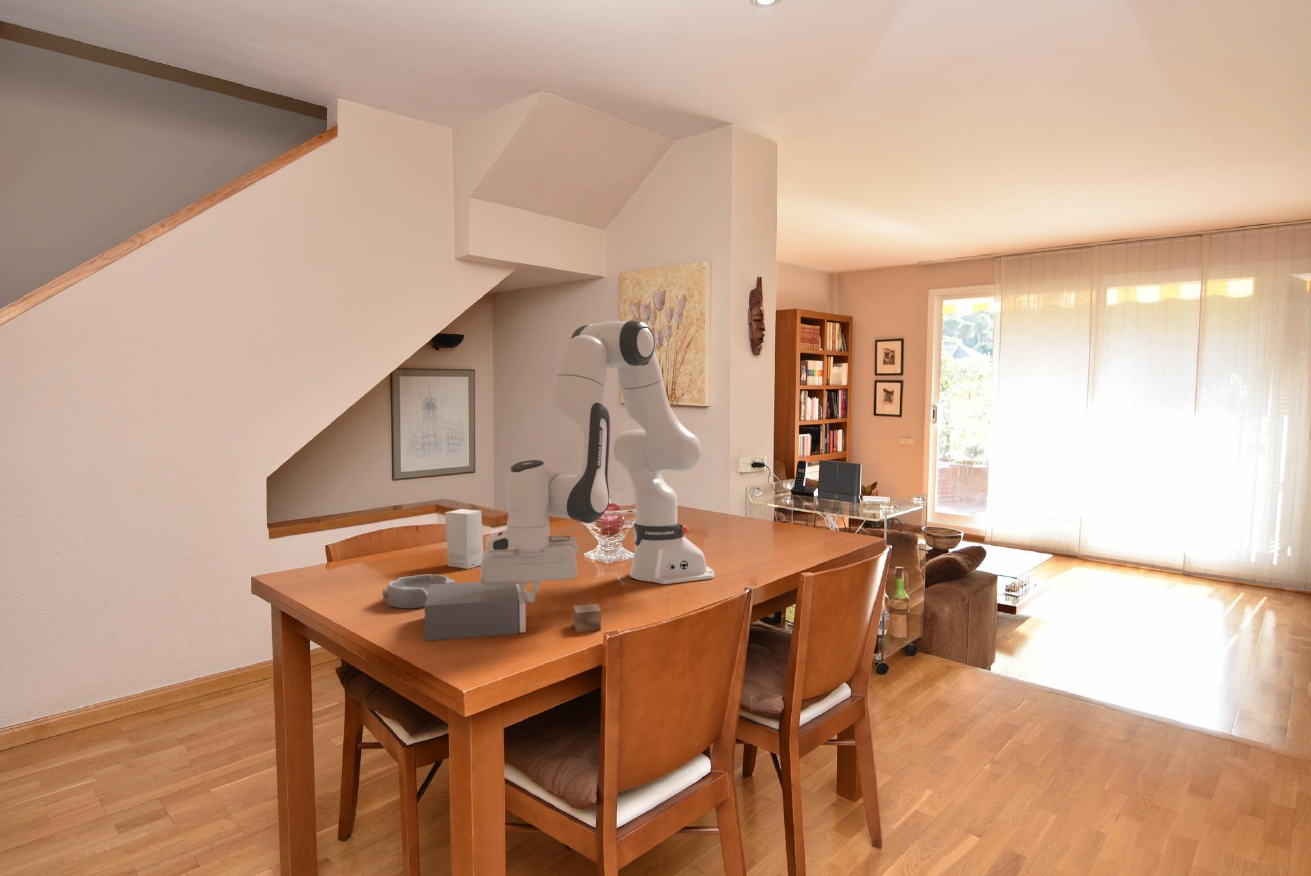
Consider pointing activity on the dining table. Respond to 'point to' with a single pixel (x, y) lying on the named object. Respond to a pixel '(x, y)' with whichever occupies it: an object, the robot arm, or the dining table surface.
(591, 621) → the walnut block
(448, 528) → the skincare box
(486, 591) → the grey drawer cabinet
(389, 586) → the dish
